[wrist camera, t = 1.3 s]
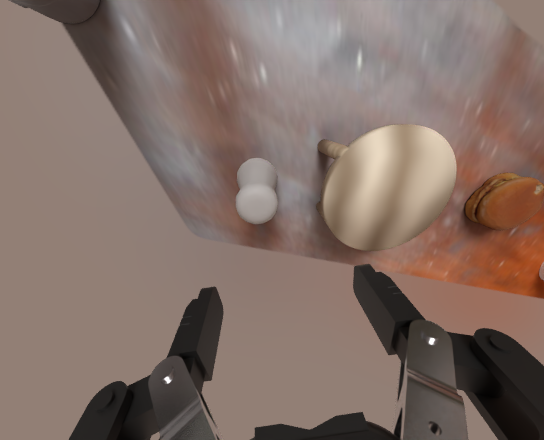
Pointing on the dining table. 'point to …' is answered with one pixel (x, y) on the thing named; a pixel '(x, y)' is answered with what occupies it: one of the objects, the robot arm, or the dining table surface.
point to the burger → (505, 201)
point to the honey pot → (541, 271)
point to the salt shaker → (256, 191)
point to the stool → (386, 185)
